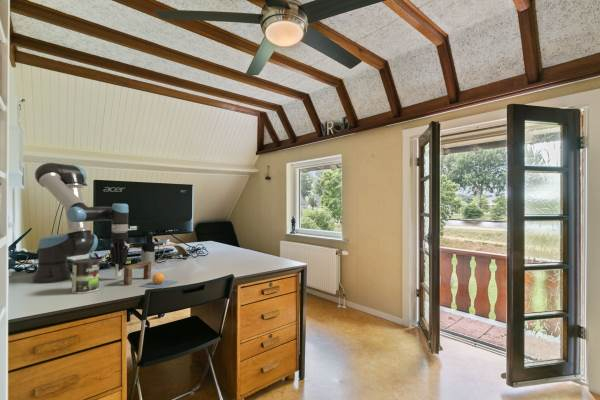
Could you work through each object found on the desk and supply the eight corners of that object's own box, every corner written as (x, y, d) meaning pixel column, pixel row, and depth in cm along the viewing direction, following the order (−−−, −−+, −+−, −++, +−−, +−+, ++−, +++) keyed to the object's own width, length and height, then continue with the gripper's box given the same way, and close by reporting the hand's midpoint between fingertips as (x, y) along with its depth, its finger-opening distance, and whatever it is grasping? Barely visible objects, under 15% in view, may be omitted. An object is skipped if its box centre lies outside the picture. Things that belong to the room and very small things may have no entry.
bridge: (123, 284, 143) (123, 266, 143) (146, 277, 157) (146, 261, 157) (128, 285, 142) (128, 267, 142) (150, 278, 156) (151, 261, 156)
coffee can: (104, 288, 137) (105, 259, 137) (84, 294, 127) (85, 263, 127) (86, 286, 139) (87, 257, 139) (65, 292, 129) (66, 261, 129)
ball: (160, 282, 142) (152, 287, 143) (168, 279, 147) (160, 284, 149) (155, 272, 143) (148, 277, 144) (163, 270, 148) (156, 274, 149)
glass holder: (140, 266, 184) (141, 243, 185) (164, 264, 190) (165, 242, 191) (139, 269, 176) (139, 245, 177) (164, 267, 182) (165, 244, 183)
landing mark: (139, 286, 141) (139, 285, 141) (158, 279, 154) (158, 279, 154) (160, 288, 137) (160, 288, 137) (178, 281, 150) (178, 281, 150)
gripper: (104, 232, 151) (102, 276, 151) (123, 233, 148) (121, 278, 148) (116, 230, 159) (115, 273, 158) (135, 231, 155) (134, 275, 155)
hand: (118, 275), depth 153 cm, fingers closed
